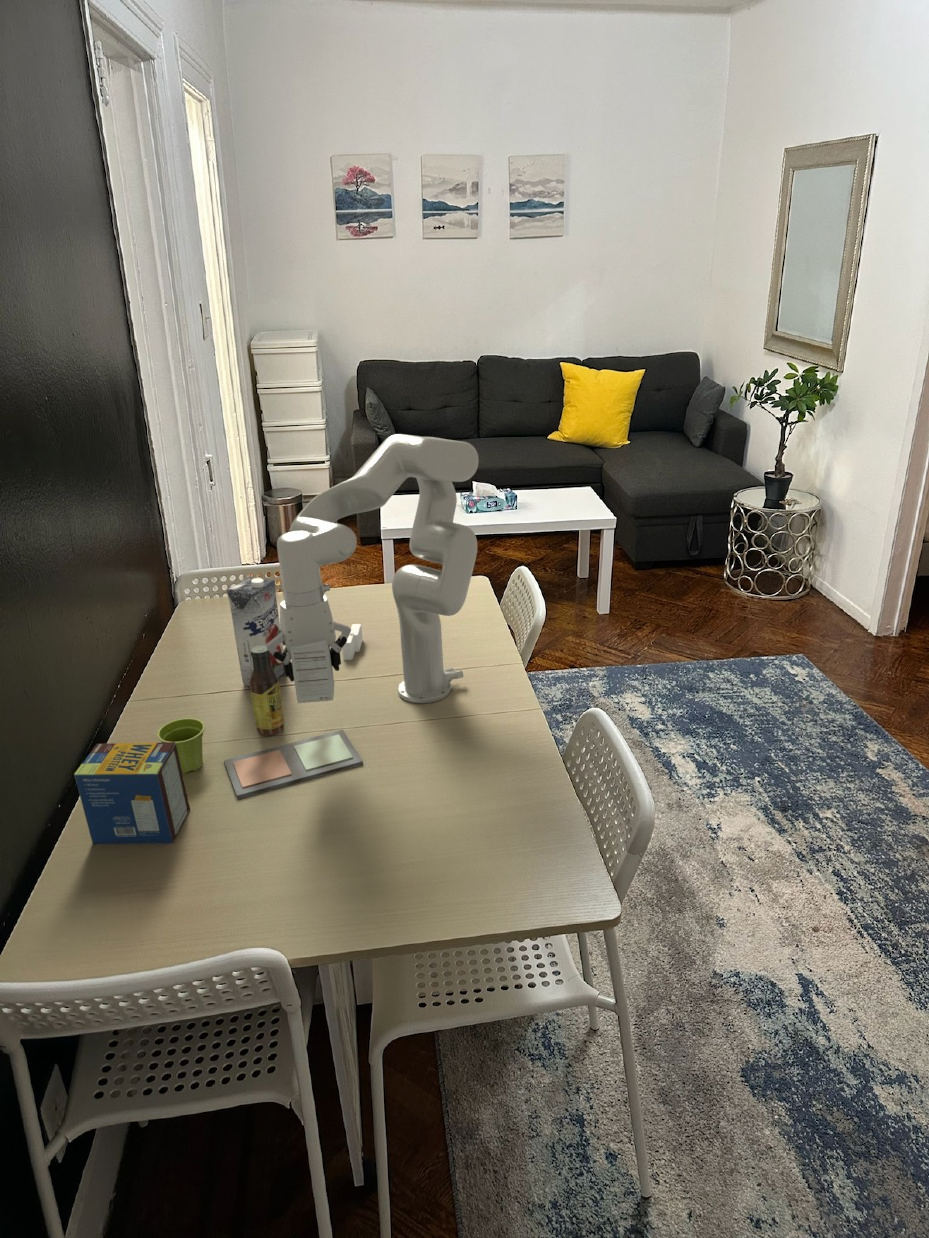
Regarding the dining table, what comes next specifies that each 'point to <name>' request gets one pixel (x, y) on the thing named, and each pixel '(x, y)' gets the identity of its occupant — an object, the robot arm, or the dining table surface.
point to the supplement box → (313, 672)
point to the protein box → (133, 793)
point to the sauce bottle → (265, 693)
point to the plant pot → (185, 741)
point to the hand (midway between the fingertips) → (313, 673)
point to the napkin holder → (353, 642)
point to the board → (291, 763)
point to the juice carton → (255, 622)
